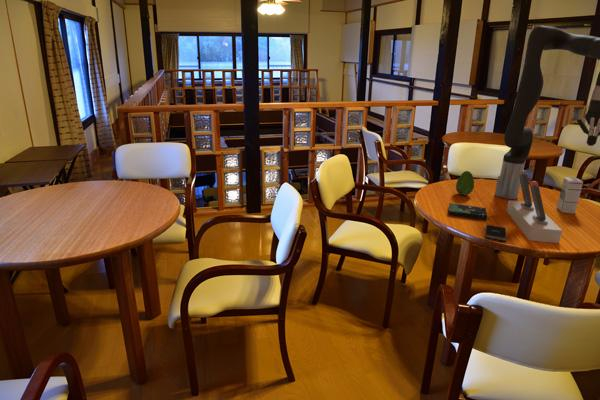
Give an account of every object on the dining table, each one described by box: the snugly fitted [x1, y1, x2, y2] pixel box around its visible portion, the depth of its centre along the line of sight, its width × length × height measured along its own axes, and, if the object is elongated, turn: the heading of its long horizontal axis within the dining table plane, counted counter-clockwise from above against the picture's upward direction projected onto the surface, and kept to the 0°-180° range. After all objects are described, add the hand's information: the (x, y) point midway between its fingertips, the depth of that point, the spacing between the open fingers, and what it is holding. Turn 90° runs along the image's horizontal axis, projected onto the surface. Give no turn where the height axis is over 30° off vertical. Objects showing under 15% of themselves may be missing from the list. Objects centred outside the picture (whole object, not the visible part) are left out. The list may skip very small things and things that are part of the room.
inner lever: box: [519, 169, 533, 207], centre depth 165 cm, size 3×5×15 cm, turn 168°
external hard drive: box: [484, 224, 507, 243], centre depth 153 cm, size 7×11×2 cm, turn 156°
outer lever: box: [528, 180, 546, 221], centre depth 152 cm, size 3×5×15 cm, turn 168°
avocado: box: [455, 170, 475, 196], centre depth 195 cm, size 8×8×12 cm
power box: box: [506, 200, 563, 244], centre depth 162 cm, size 10×30×6 cm, turn 169°
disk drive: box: [448, 202, 488, 221], centre depth 173 cm, size 10×3×15 cm
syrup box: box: [556, 176, 584, 214], centre depth 178 cm, size 6×6×14 cm
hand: (590, 145), depth 156 cm, fingers closed
